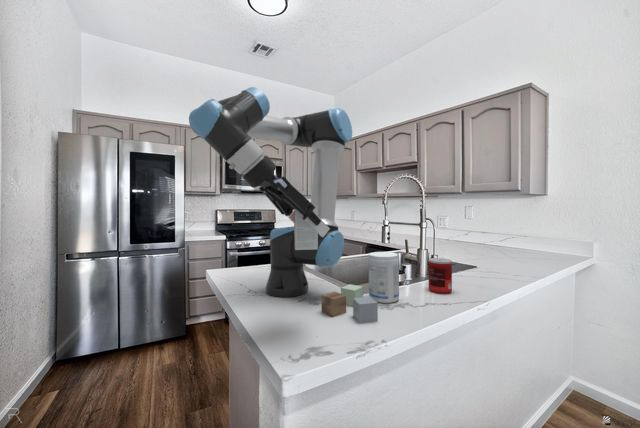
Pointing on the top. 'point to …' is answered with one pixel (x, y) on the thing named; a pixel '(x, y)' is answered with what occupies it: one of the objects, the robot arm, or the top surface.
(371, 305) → the slate grey block
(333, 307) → the walnut block
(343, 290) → the sage green block
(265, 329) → the top surface
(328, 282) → the top surface
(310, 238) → the small box
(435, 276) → the canned food
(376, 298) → the supplement tub
